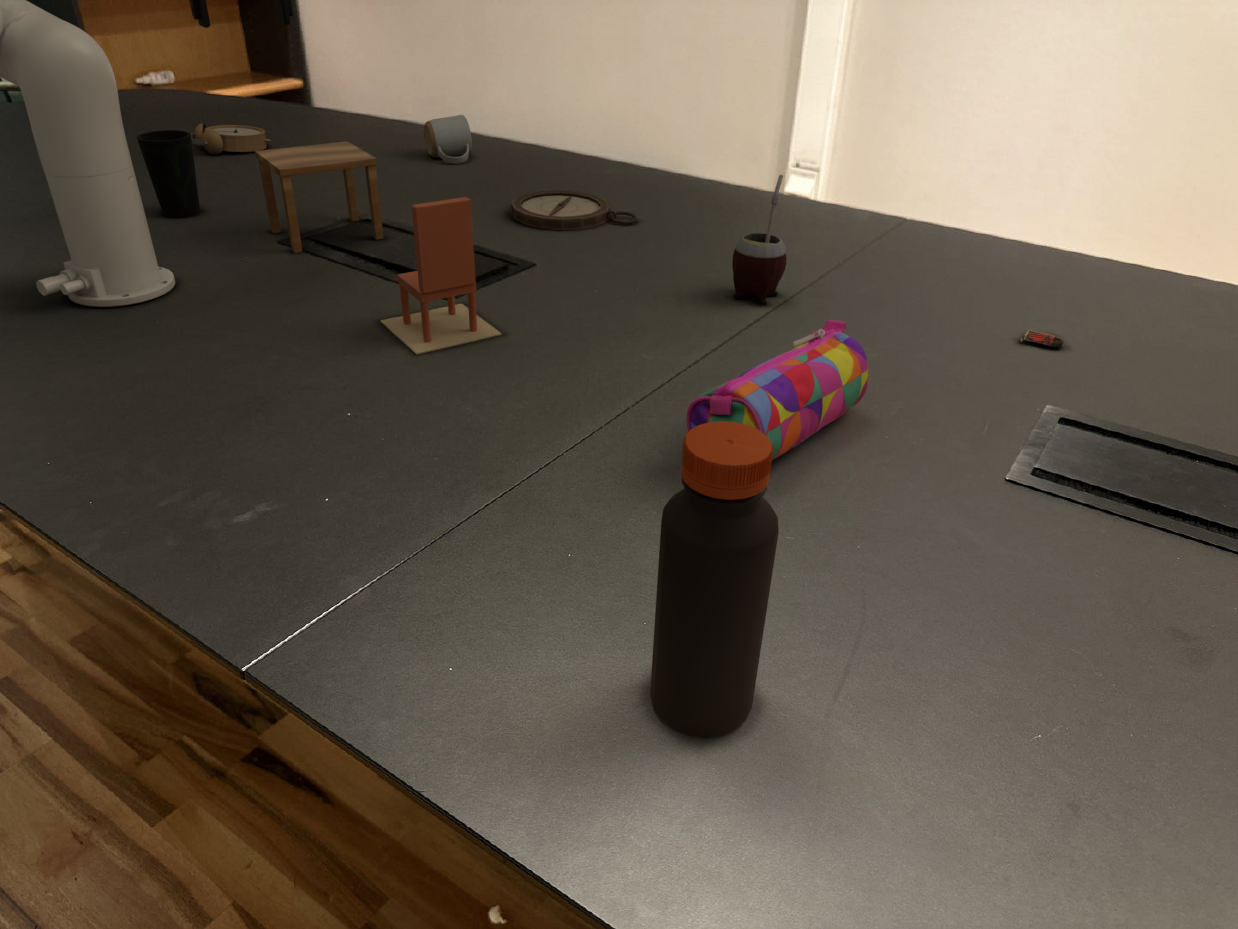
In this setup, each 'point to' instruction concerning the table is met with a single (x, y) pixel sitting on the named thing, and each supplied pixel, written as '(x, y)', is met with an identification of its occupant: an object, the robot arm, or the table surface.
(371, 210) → the side table
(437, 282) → the chair
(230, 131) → the alarm clock
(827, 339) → the pencil case
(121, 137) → the robot arm
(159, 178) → the cup
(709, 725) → the bottle
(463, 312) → the mat
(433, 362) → the table surface
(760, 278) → the mate gourd
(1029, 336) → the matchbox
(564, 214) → the compass
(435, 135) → the ceramic mug
